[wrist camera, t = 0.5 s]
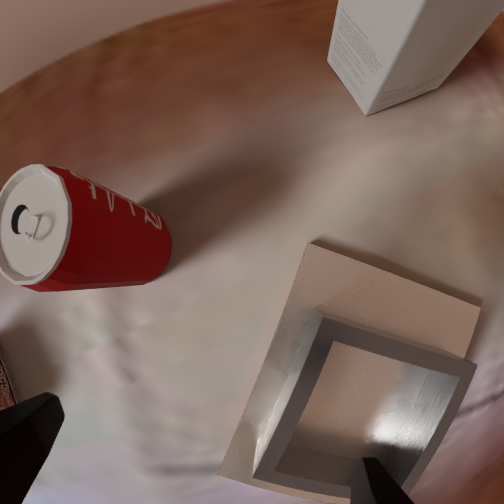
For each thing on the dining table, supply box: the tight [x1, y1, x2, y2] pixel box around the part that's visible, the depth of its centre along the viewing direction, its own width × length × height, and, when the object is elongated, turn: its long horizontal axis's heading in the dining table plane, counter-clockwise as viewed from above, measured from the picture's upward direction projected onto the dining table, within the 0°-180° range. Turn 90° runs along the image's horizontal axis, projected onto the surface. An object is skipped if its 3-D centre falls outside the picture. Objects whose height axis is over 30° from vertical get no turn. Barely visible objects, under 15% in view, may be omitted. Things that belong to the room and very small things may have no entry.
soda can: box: [0, 164, 172, 292], centre depth 16 cm, size 6×6×12 cm
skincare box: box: [327, 0, 504, 116], centre depth 14 cm, size 8×6×15 cm
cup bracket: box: [218, 243, 481, 504], centre depth 18 cm, size 18×14×5 cm
